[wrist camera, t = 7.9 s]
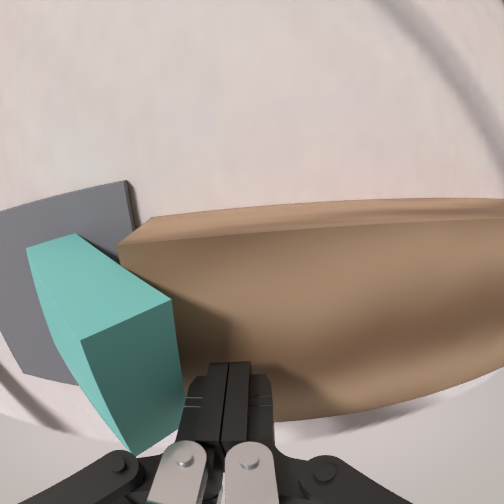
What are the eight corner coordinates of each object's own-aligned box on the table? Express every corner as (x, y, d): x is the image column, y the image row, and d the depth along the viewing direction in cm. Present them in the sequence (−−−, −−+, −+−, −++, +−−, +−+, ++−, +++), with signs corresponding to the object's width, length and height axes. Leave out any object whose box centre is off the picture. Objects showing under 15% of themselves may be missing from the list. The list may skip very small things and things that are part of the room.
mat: (-34, 223, 14) (-37, 224, 13) (126, 180, 13) (123, 181, 12) (25, 370, 19) (23, 373, 18) (182, 393, 18) (181, 397, 17)
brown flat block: (151, 217, 14) (115, 245, 10) (517, 199, 12) (559, 216, 9) (189, 373, 17) (177, 421, 13) (489, 330, 16) (516, 360, 12)
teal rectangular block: (75, 233, 13) (25, 248, 11) (171, 299, 8) (80, 340, 6) (95, 326, 16) (55, 344, 13) (190, 420, 10) (134, 457, 8)
